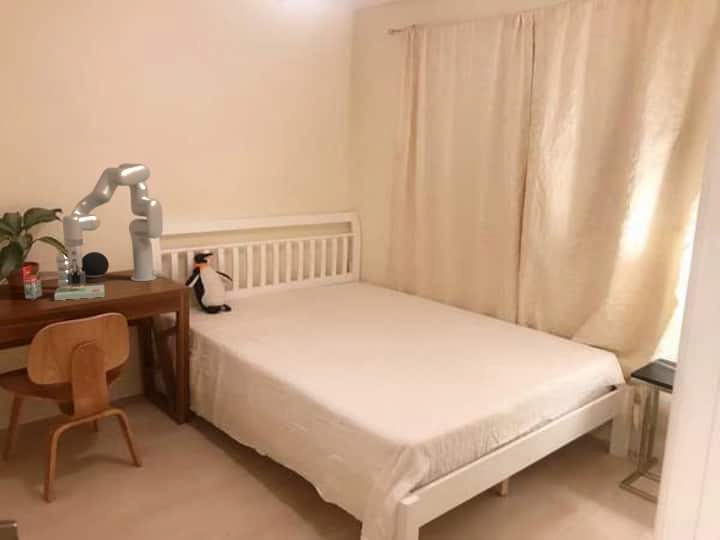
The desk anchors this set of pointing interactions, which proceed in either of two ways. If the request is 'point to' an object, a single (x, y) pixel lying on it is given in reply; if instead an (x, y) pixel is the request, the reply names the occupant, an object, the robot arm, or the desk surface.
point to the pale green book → (79, 292)
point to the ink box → (31, 284)
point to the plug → (82, 279)
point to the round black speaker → (95, 267)
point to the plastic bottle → (62, 269)
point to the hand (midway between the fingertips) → (76, 281)
